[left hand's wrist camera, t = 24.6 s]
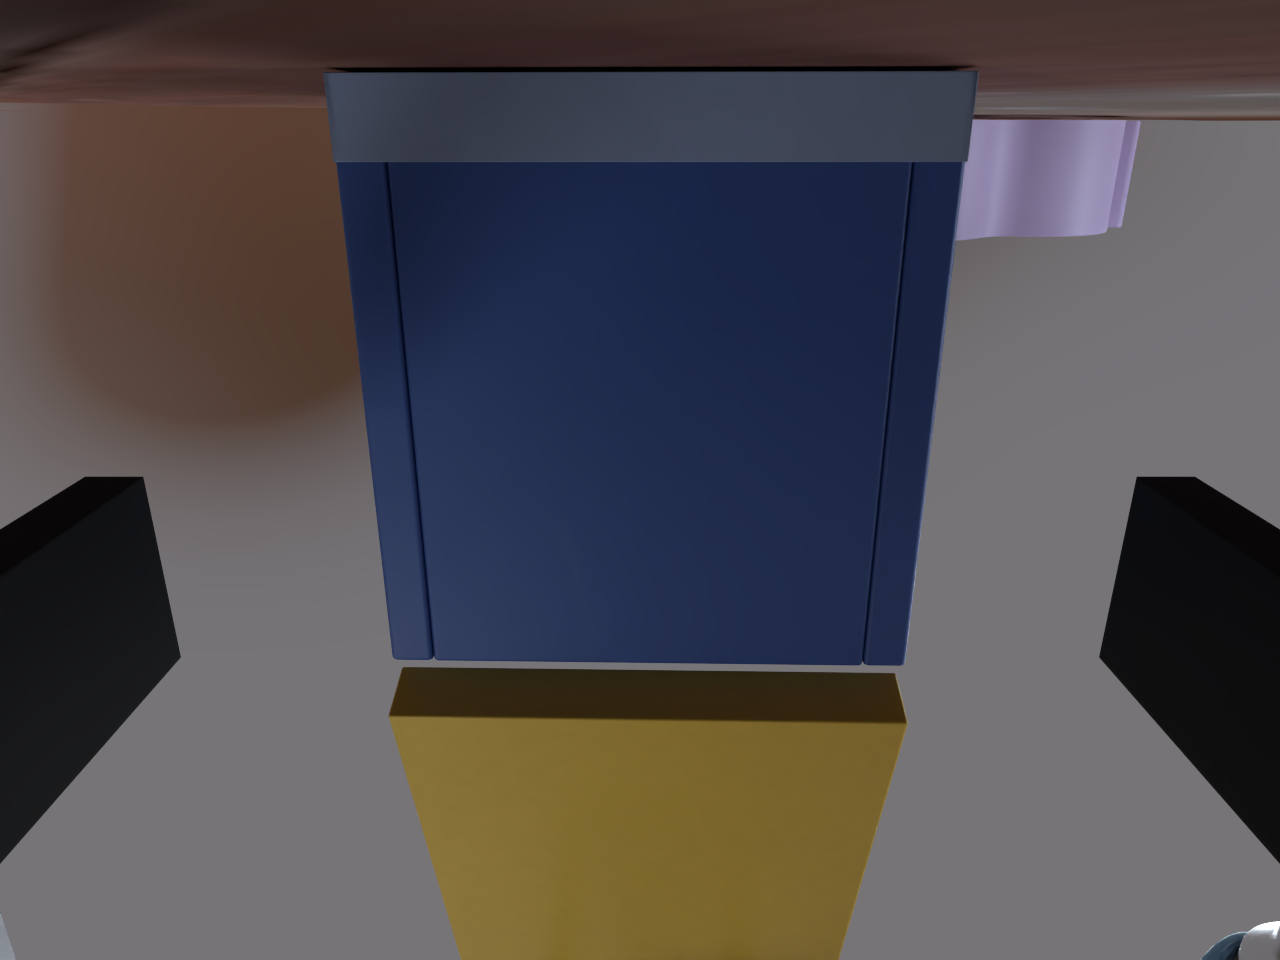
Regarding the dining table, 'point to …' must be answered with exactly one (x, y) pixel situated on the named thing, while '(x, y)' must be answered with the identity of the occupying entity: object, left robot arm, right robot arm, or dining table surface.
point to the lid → (648, 807)
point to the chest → (650, 354)
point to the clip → (1046, 177)
